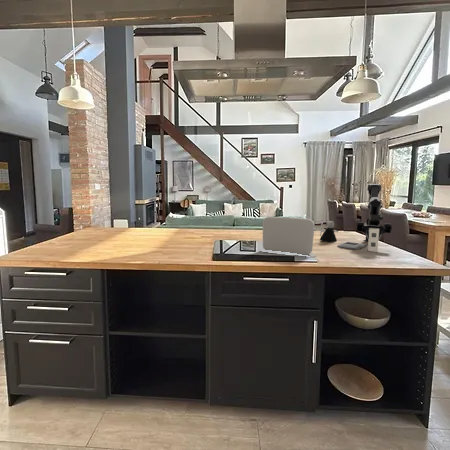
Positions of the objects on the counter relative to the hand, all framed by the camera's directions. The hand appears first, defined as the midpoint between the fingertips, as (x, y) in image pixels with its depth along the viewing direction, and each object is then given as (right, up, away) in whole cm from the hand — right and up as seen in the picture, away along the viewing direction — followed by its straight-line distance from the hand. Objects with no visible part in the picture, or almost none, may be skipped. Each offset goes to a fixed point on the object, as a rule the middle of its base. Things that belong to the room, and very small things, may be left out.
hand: (373, 238), depth 188 cm
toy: (-17, -3, +30) cm, 34 cm away
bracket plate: (-7, -5, +13) cm, 16 cm away
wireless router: (-52, -8, -9) cm, 53 cm away
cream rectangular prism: (0, -7, +2) cm, 7 cm away
